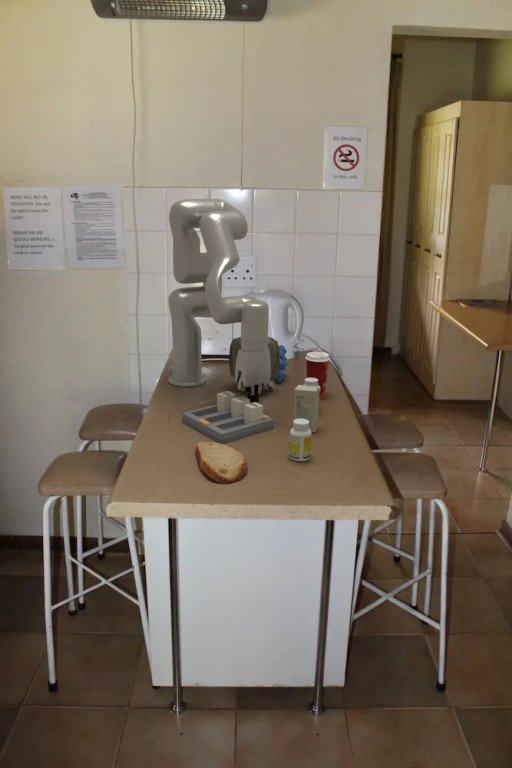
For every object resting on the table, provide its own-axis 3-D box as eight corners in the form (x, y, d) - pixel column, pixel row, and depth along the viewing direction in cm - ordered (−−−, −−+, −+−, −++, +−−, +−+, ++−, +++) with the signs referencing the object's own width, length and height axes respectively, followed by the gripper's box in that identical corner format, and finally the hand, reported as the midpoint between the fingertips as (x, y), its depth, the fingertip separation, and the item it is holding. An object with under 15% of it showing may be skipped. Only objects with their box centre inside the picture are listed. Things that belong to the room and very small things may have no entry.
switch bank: (182, 421, 188) (182, 411, 187) (232, 408, 199) (233, 399, 198) (221, 443, 174) (221, 433, 173) (273, 428, 185) (274, 418, 184)
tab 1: (231, 417, 189) (231, 397, 187) (242, 414, 191) (242, 395, 190) (238, 420, 187) (238, 401, 185) (249, 417, 189) (249, 398, 187)
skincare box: (318, 427, 186) (320, 386, 183) (315, 433, 183) (317, 391, 179) (295, 424, 188) (297, 383, 184) (292, 430, 184) (294, 388, 180)
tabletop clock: (278, 392, 214) (281, 316, 206) (262, 399, 208) (264, 321, 200) (243, 382, 223) (244, 309, 215) (226, 389, 216) (226, 314, 208)
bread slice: (202, 445, 174) (202, 432, 173) (265, 458, 167) (265, 445, 166) (166, 472, 158) (166, 458, 157) (234, 488, 152) (234, 473, 150)
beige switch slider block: (216, 411, 193) (217, 392, 191) (228, 408, 196) (228, 389, 194) (223, 414, 191) (223, 395, 189) (234, 411, 193) (235, 393, 191)
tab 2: (244, 423, 185) (244, 403, 183) (255, 420, 187) (255, 401, 185) (251, 427, 182) (251, 407, 180) (262, 424, 185) (263, 404, 183)
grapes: (269, 374, 232) (270, 340, 229) (288, 375, 231) (290, 342, 228) (265, 384, 221) (265, 349, 218) (285, 385, 220) (286, 351, 217)
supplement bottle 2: (307, 416, 194) (309, 383, 191) (296, 410, 199) (297, 378, 195) (322, 413, 197) (324, 380, 194) (311, 407, 202) (312, 375, 198)
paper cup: (332, 399, 209) (334, 356, 205) (310, 401, 206) (312, 358, 202) (320, 391, 216) (323, 349, 211) (299, 393, 213) (301, 351, 209)
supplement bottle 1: (309, 453, 170) (311, 417, 167) (311, 462, 165) (313, 425, 162) (288, 452, 170) (289, 417, 167) (289, 461, 165) (291, 425, 162)
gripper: (266, 338, 192) (264, 397, 198) (224, 346, 183) (224, 408, 189) (283, 344, 187) (281, 404, 193) (241, 352, 178) (240, 416, 184)
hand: (253, 406), depth 191 cm, fingers closed
